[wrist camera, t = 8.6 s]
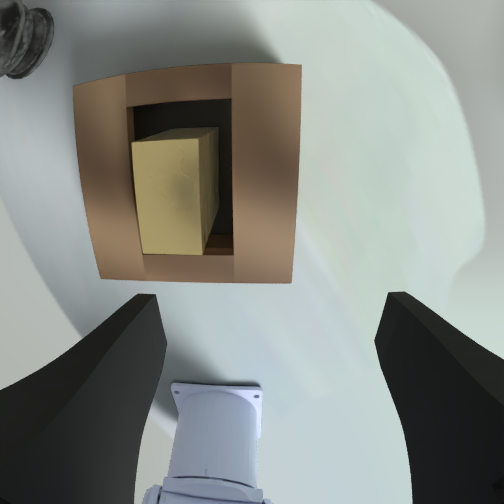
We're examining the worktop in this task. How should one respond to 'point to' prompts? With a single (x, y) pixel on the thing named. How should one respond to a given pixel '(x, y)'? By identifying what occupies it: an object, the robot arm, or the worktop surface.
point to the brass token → (177, 189)
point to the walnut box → (243, 171)
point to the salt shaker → (23, 38)
